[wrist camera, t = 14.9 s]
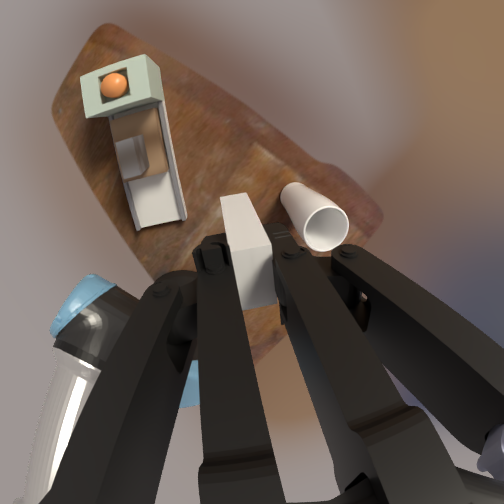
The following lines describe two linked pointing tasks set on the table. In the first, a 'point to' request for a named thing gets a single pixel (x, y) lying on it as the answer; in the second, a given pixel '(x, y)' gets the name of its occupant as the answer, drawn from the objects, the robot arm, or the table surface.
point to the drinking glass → (314, 217)
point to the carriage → (139, 145)
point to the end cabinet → (139, 93)
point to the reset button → (114, 85)
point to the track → (155, 183)
